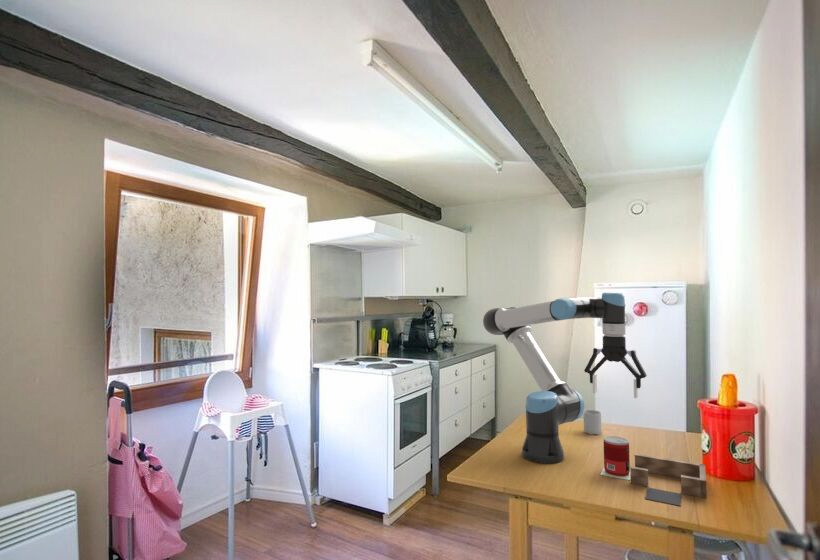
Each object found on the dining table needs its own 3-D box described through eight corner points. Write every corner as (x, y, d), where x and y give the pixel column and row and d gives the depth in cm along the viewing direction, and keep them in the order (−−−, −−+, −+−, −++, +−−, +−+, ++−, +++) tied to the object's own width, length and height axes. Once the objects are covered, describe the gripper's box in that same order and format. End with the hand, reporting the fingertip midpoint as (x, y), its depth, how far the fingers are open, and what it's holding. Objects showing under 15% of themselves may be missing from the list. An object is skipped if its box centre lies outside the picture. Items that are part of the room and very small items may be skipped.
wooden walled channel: (630, 483, 146) (630, 467, 146) (635, 468, 159) (635, 453, 159) (706, 498, 136) (706, 481, 136) (705, 480, 148) (704, 464, 148)
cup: (581, 432, 200) (580, 412, 201) (591, 427, 207) (591, 408, 207) (597, 436, 195) (596, 415, 195) (607, 431, 202) (606, 410, 202)
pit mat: (645, 499, 135) (645, 498, 135) (647, 487, 143) (647, 487, 143) (680, 506, 130) (680, 505, 130) (681, 494, 138) (681, 493, 138)
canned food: (632, 477, 151) (631, 443, 151) (606, 475, 152) (606, 442, 153) (626, 468, 158) (625, 436, 159) (602, 467, 160) (601, 435, 160)
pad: (600, 474, 153) (600, 474, 153) (605, 465, 162) (605, 464, 162) (629, 480, 149) (629, 479, 149) (633, 470, 157) (633, 469, 157)
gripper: (575, 334, 167) (576, 392, 167) (651, 338, 153) (652, 401, 152) (580, 332, 173) (581, 388, 173) (654, 336, 159) (655, 397, 158)
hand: (614, 395), depth 162 cm, fingers open, 13 cm apart
